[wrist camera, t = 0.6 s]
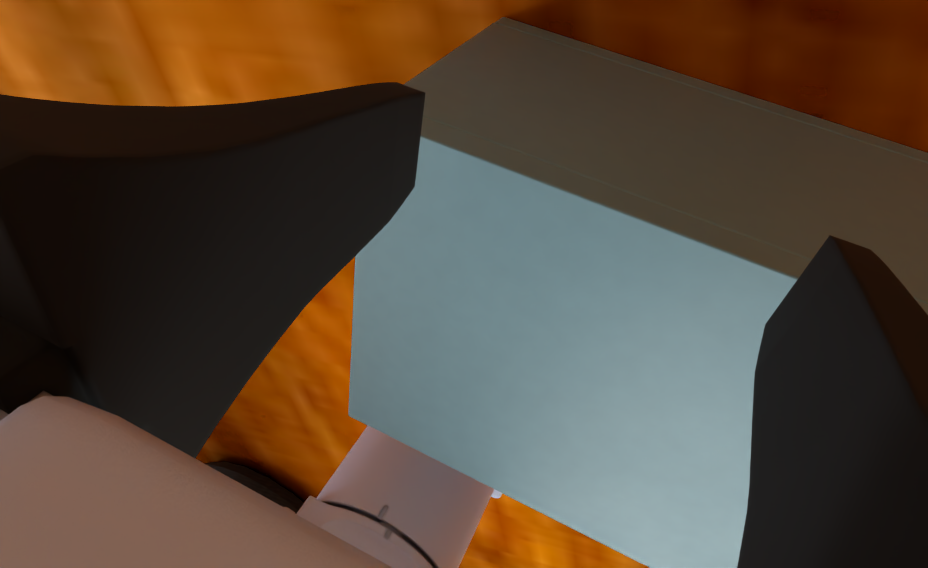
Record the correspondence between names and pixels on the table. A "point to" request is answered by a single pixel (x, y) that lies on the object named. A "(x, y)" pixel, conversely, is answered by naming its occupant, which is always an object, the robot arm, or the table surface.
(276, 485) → the dark throne chair
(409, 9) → the table surface
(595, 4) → the table surface
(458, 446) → the cabinet
